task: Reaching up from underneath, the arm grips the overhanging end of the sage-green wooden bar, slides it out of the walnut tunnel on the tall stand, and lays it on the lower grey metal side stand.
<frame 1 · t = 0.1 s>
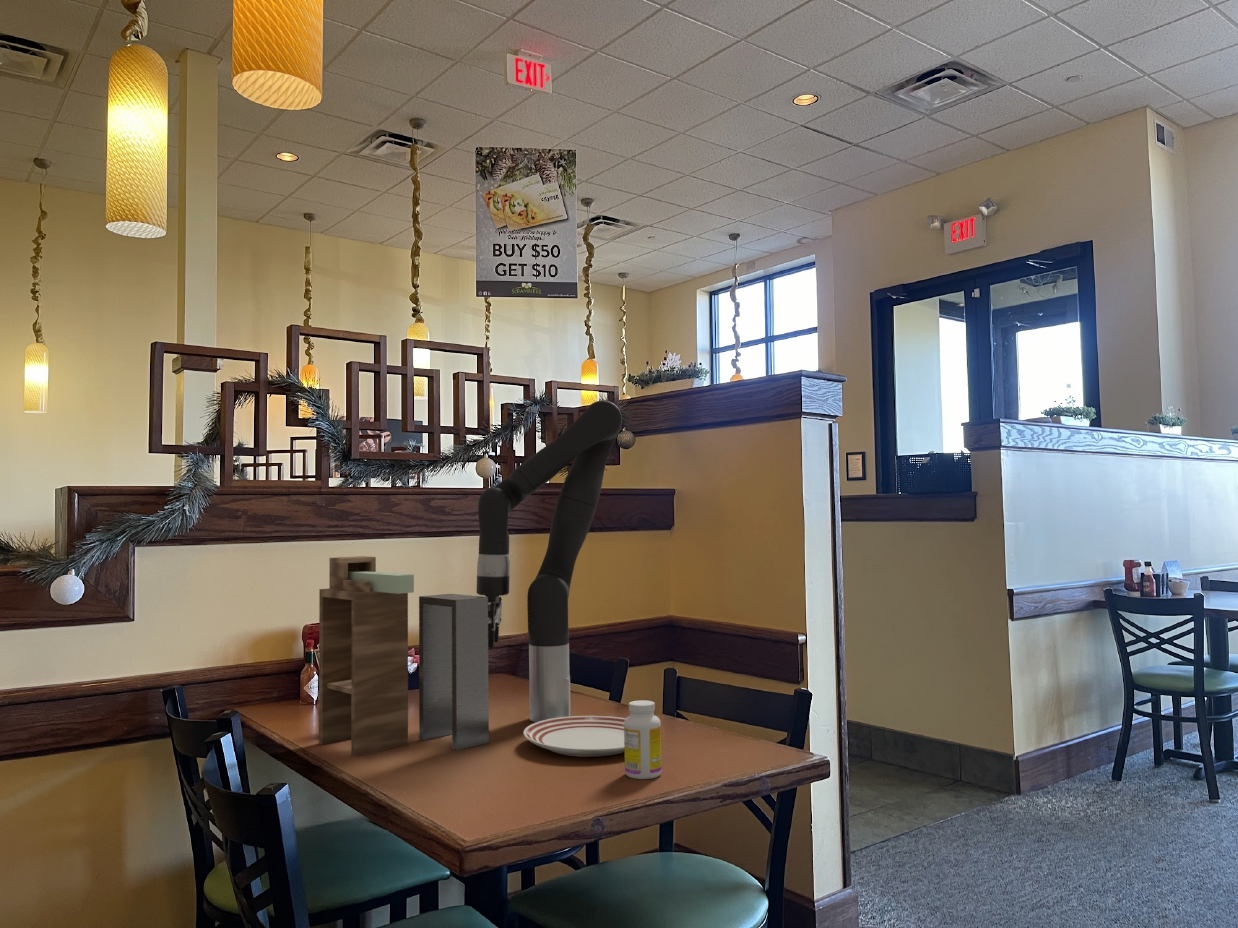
hand: (491, 644, 208), 17 cm above the table, tool pointing down, fingers open, 8 cm apart
side stand: (453, 740, 188), on the table
tunnel stand: (364, 744, 187), on the table
bar: (377, 590, 185), point 32 cm above the table, touching tunnel stand
dinner plate: (590, 746, 184), on the table
supplement bottle: (643, 775, 162), on the table
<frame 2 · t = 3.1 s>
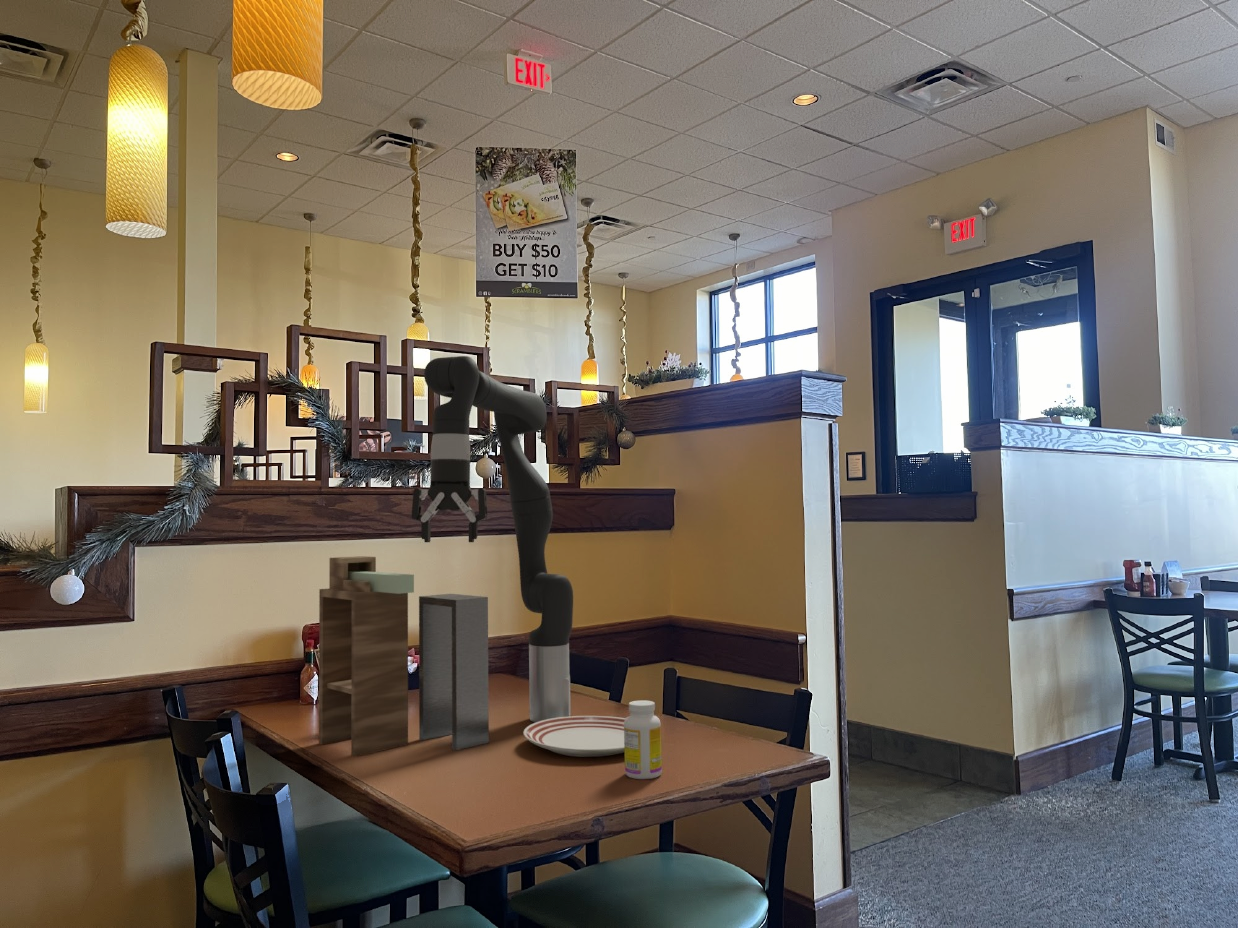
hand: (449, 542, 174), 42 cm above the table, tool pointing down, fingers open, 8 cm apart
nothing on the table moved.
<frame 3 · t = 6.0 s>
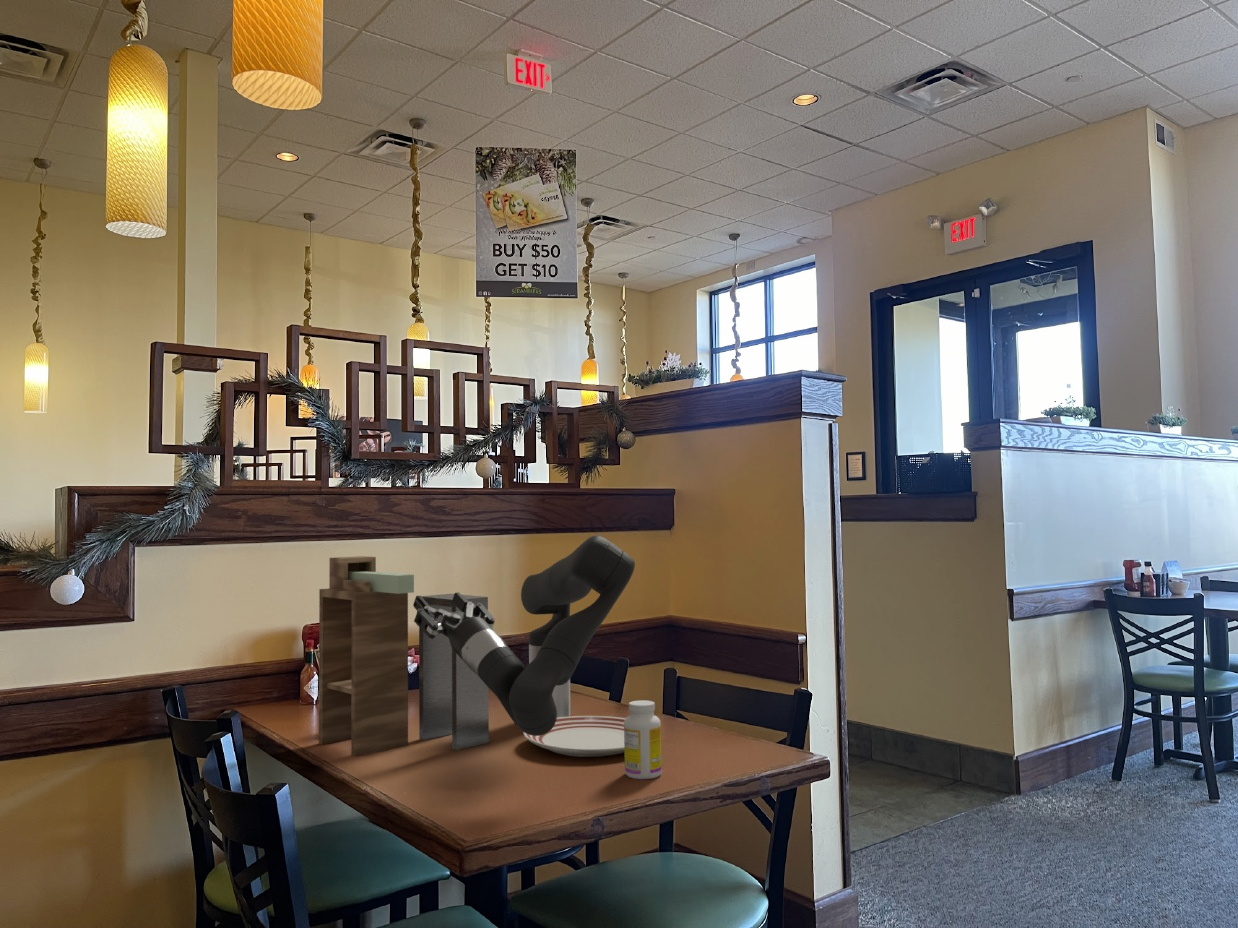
hand: (436, 597, 170), 32 cm above the table, tool pointing upward, fingers open, 8 cm apart
nothing on the table moved.
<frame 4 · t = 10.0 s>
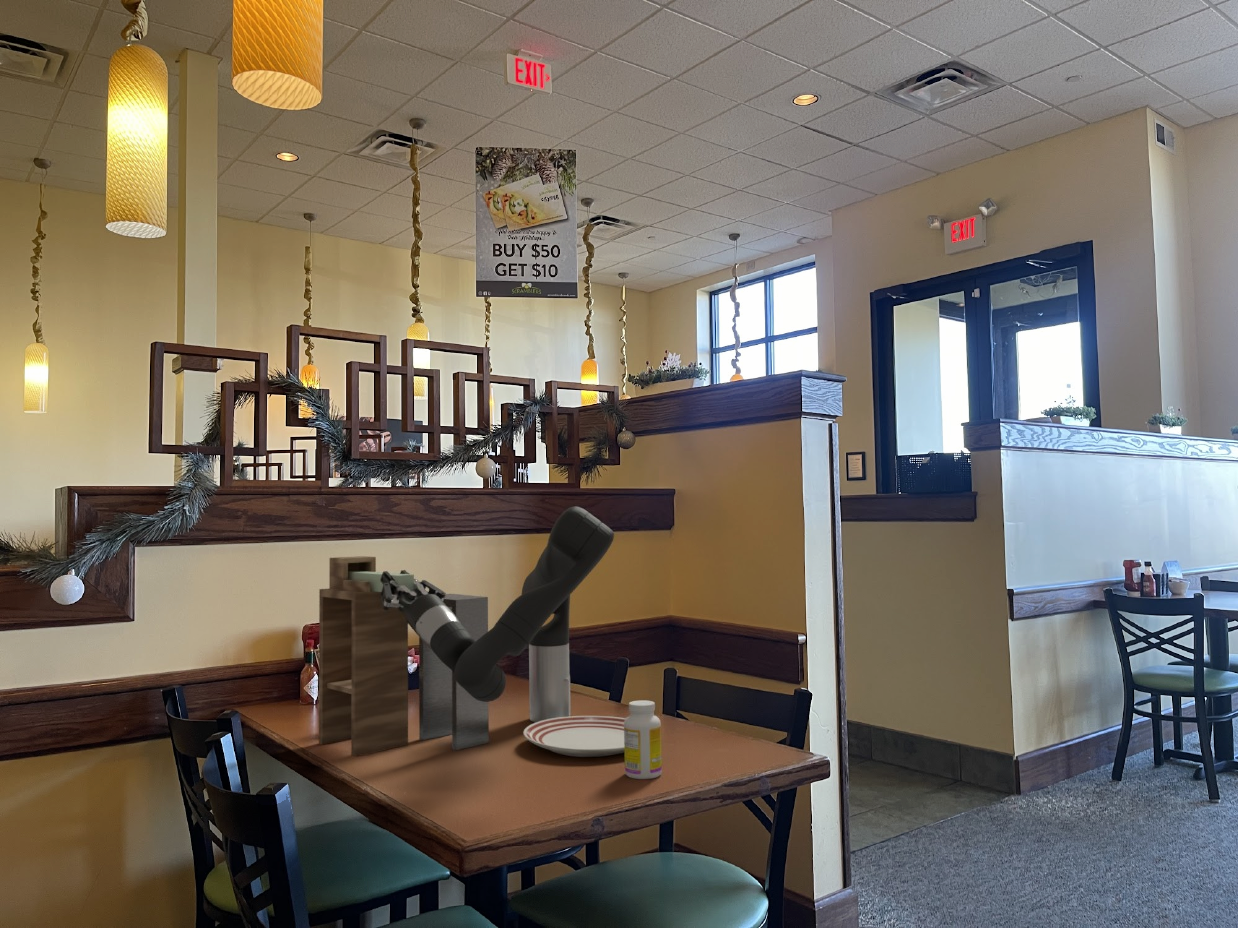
hand: (392, 574, 181), 35 cm above the table, tool pointing upward, fingers closed on bar, 3 cm apart
bar: (377, 590, 185), point 32 cm above the table, touching gripper, tunnel stand
everything else where it was.
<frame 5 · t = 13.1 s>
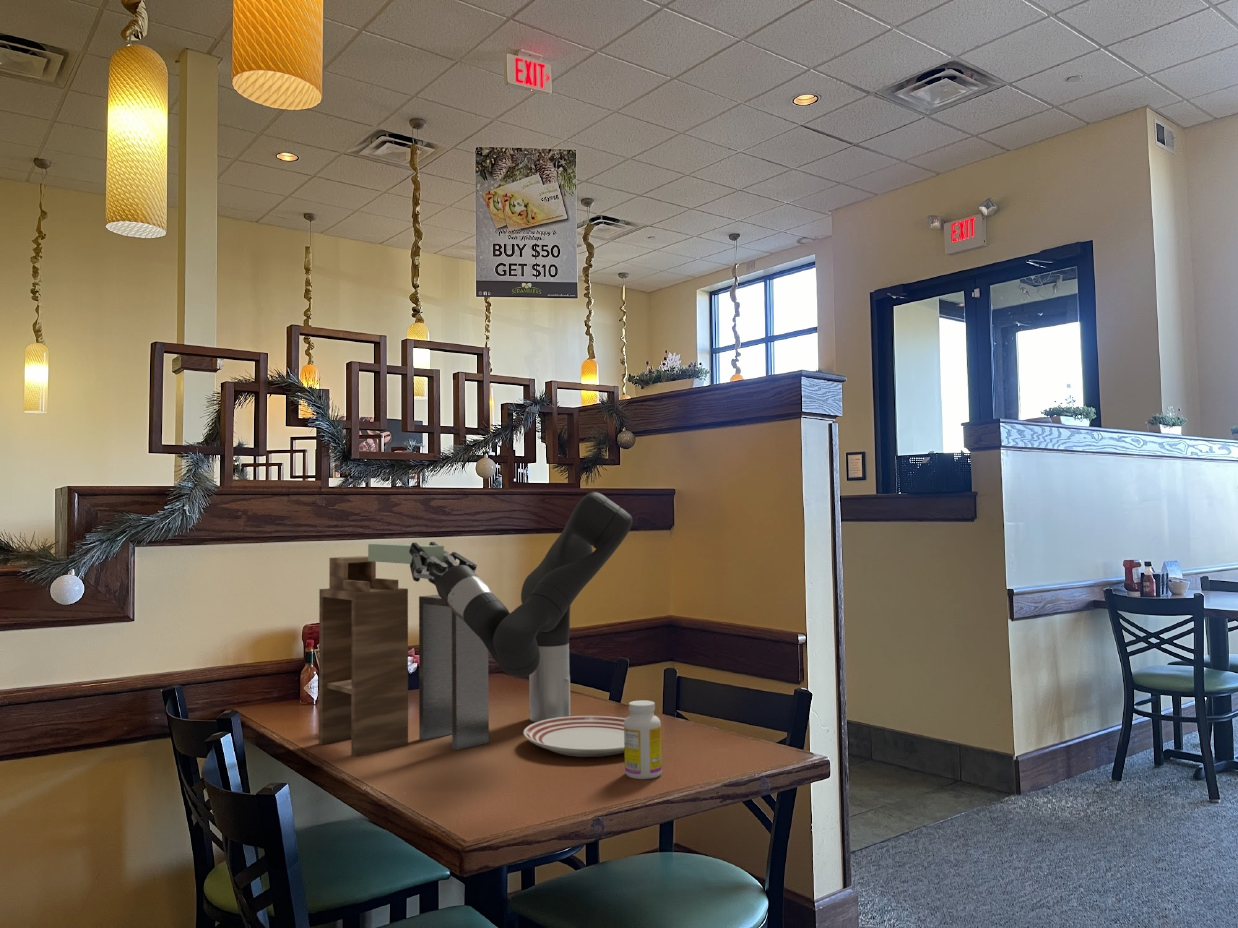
hand: (421, 546, 175), 41 cm above the table, tool pointing upward, fingers closed on bar, 3 cm apart
bar: (404, 562, 179), point 38 cm above the table, touching gripper
everything else where it was.
when the fingers open (34 cm above the table, at t = 16.1 s): bar stays where it is, resting on side stand.
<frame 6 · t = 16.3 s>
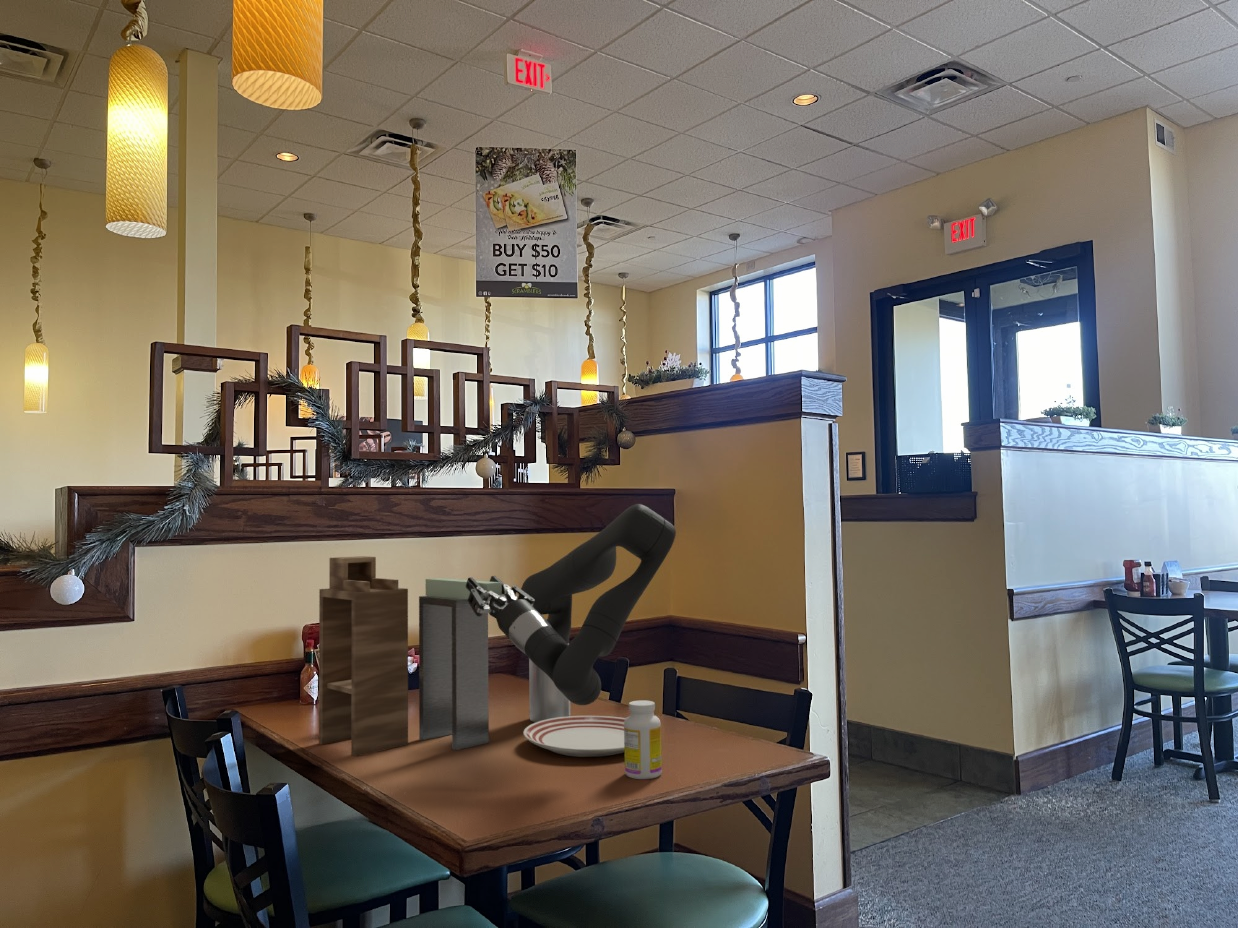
hand: (480, 580, 184), 34 cm above the table, tool pointing upward, fingers open, 5 cm apart
bar: (462, 597, 188), point 30 cm above the table, touching side stand
everything else where it was.
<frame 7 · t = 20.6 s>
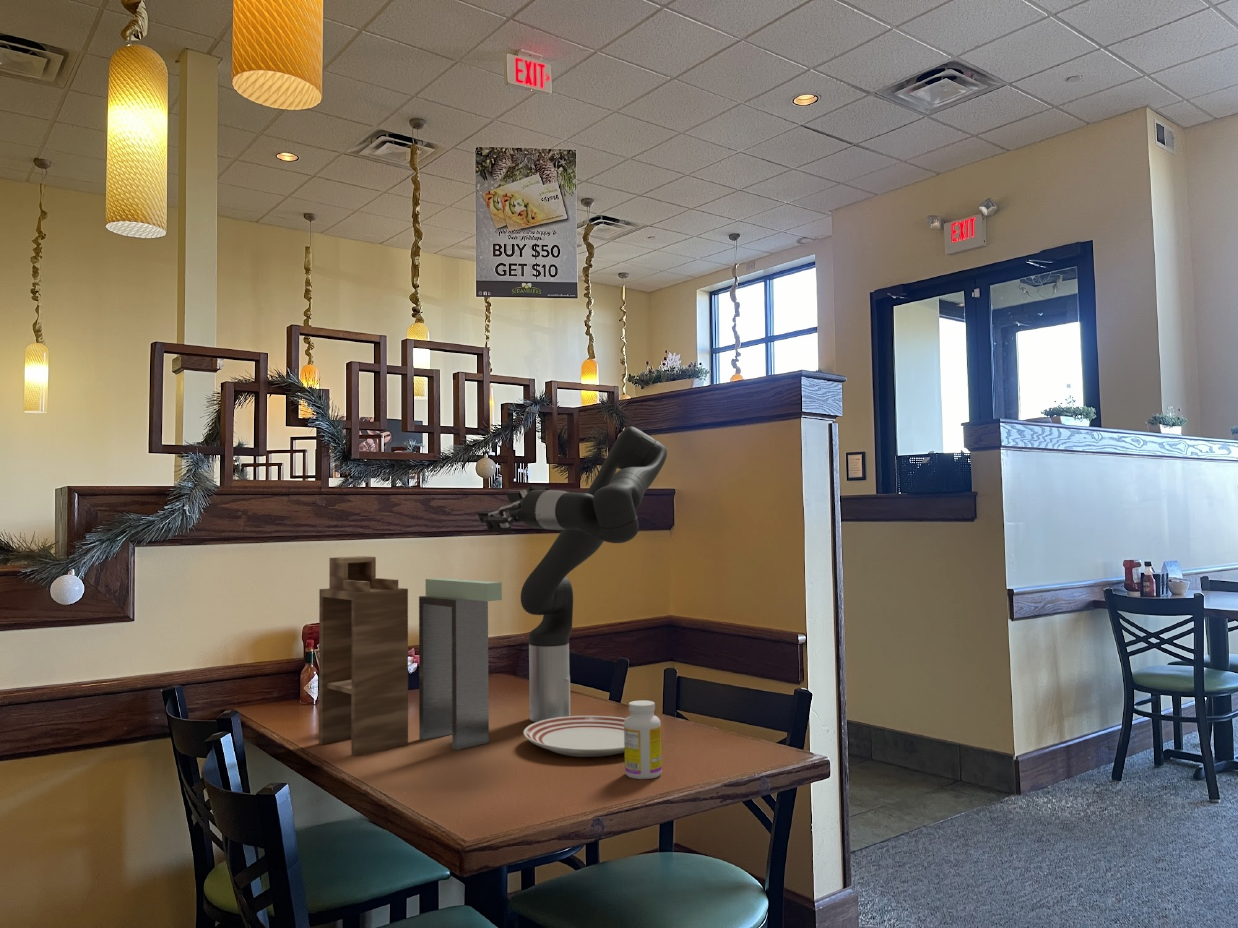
hand: (494, 506, 183), 49 cm above the table, tool horizontal, fingers open, 8 cm apart
nothing on the table moved.
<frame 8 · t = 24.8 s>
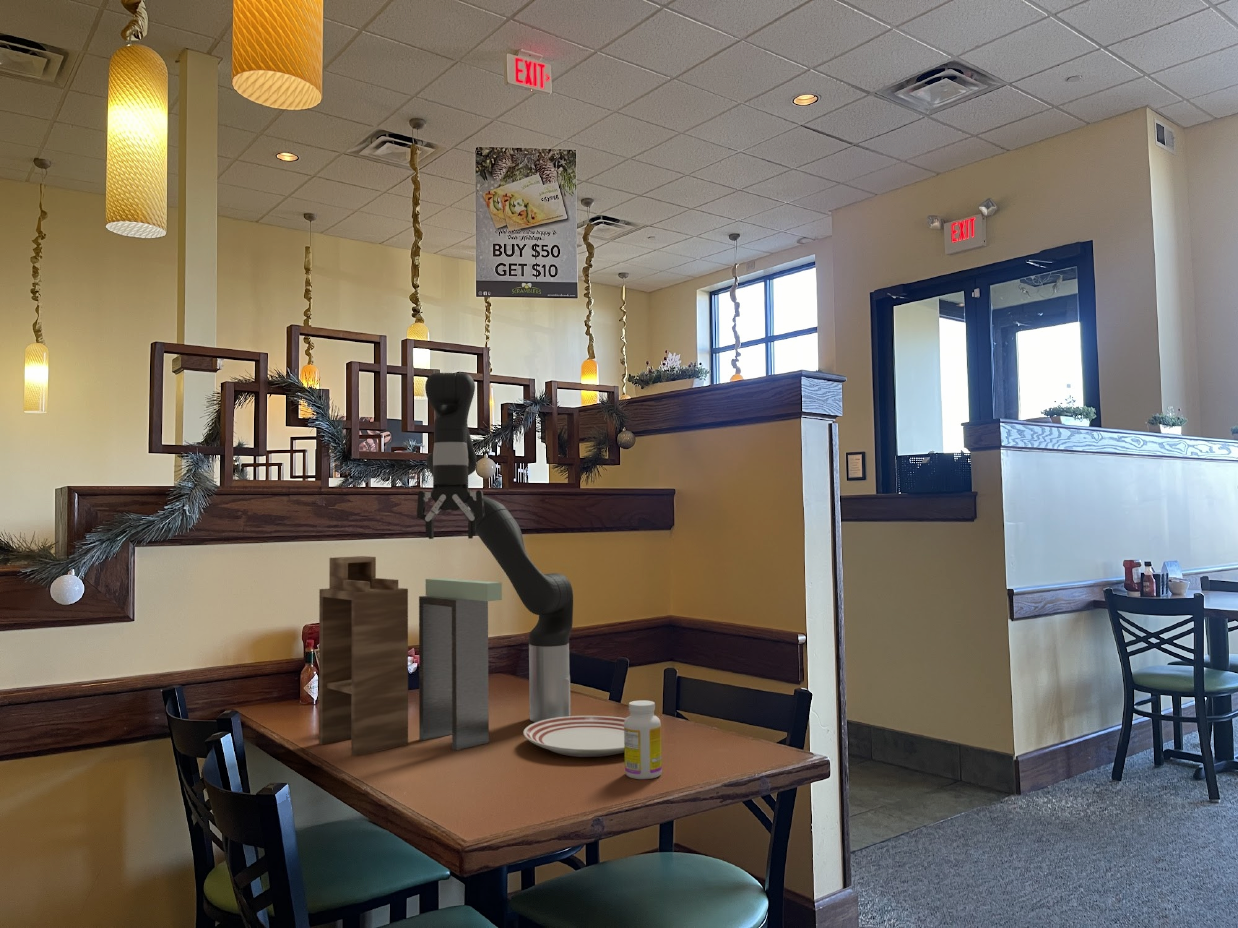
hand: (450, 538, 195), 42 cm above the table, tool pointing down, fingers open, 8 cm apart
nothing on the table moved.
at the end: bar touching side stand; bar point 30.0 cm above the table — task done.
